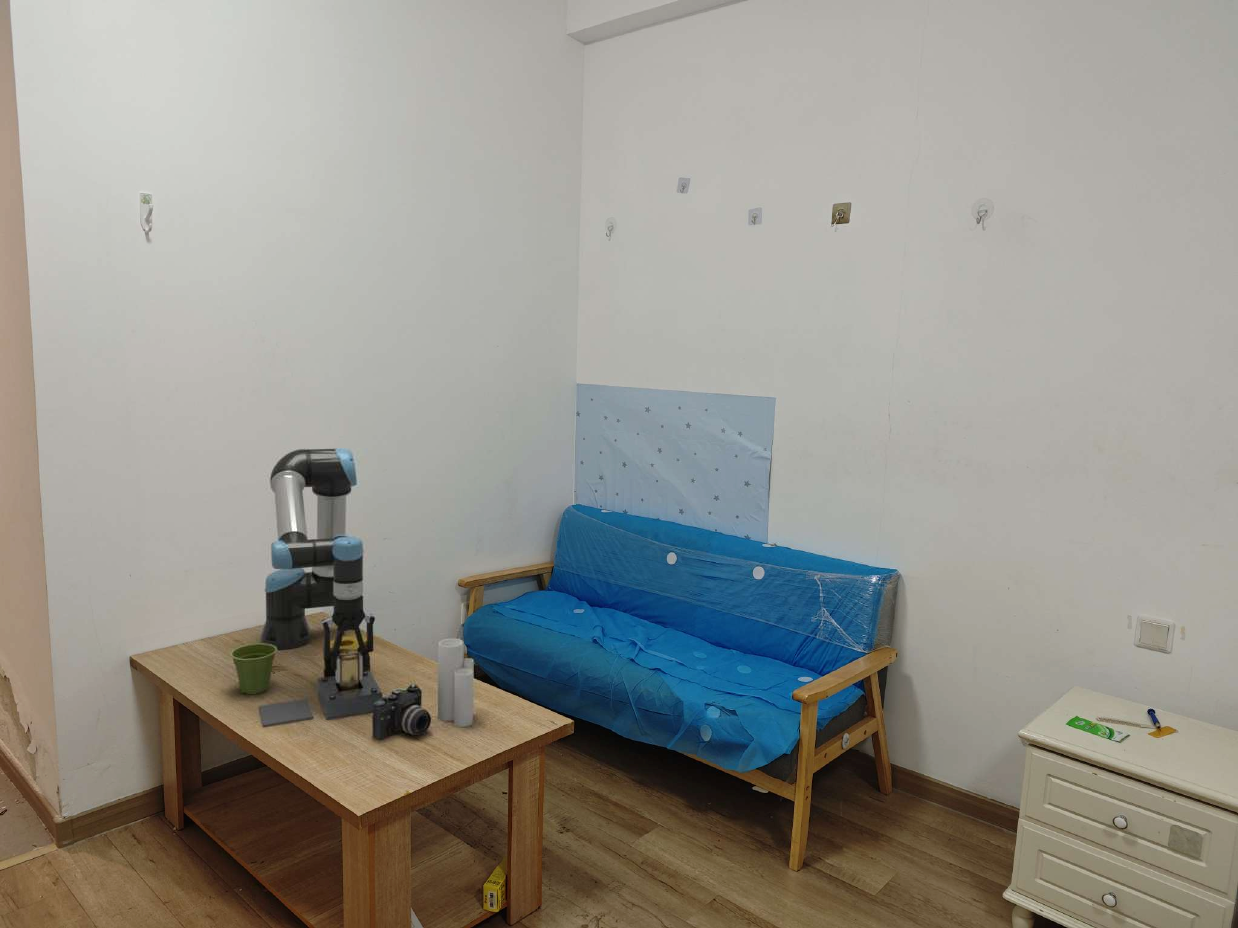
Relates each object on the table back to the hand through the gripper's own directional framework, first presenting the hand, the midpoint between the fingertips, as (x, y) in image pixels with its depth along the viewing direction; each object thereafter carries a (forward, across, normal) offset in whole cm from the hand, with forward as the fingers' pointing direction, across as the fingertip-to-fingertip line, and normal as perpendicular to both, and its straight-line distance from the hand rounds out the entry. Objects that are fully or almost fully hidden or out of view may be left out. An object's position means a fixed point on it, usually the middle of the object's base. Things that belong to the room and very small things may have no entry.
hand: (349, 678), depth 221 cm
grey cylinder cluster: (+7, +24, -20) cm, 32 cm away
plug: (+7, 0, 0) cm, 7 cm away
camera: (+7, +10, -22) cm, 25 cm away
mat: (+7, -16, 0) cm, 17 cm away
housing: (+7, 0, 0) cm, 7 cm away
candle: (+7, +3, +20) cm, 21 cm away
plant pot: (+7, -22, +19) cm, 30 cm away
